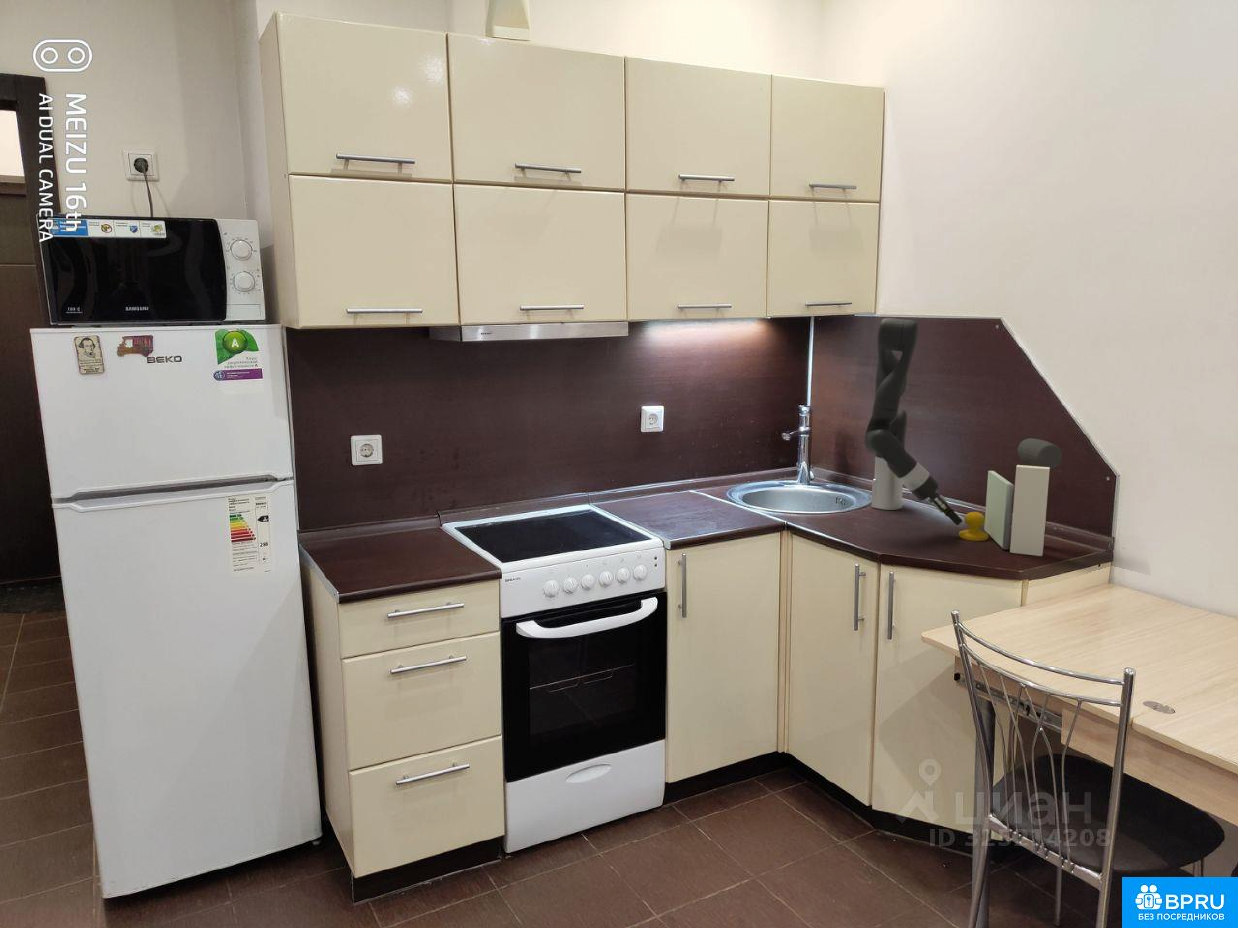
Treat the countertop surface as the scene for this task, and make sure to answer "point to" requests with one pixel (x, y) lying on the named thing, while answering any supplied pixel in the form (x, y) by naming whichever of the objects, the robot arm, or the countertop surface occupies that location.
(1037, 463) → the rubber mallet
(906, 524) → the countertop surface
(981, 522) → the doorknob
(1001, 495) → the door
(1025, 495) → the panel
